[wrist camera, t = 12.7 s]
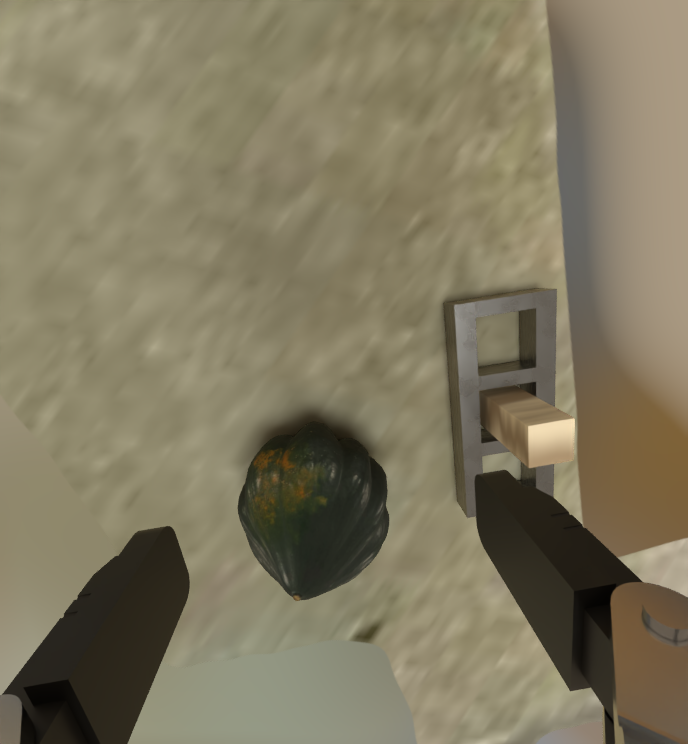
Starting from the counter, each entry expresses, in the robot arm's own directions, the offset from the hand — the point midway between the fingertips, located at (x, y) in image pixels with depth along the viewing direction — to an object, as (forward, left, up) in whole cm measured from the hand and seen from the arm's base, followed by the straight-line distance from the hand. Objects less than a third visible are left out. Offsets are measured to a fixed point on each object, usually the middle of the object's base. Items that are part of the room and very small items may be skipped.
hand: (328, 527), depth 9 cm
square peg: (+10, +18, -28) cm, 35 cm away
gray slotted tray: (+10, +18, -28) cm, 35 cm away
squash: (+15, -3, -28) cm, 32 cm away
